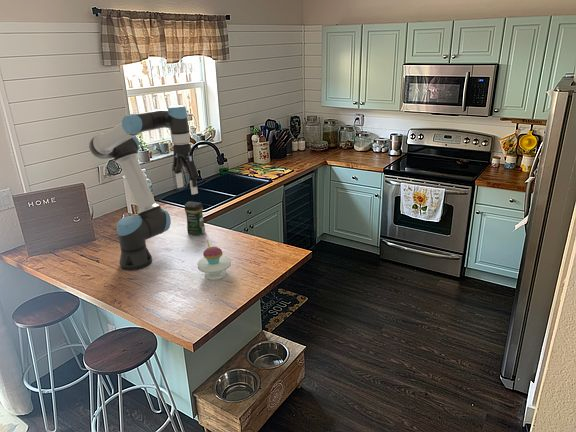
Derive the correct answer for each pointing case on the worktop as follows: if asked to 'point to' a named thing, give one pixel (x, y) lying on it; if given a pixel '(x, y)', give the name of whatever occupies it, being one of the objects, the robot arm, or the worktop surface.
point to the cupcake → (212, 254)
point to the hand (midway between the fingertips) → (187, 190)
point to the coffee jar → (194, 218)
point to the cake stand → (214, 268)
